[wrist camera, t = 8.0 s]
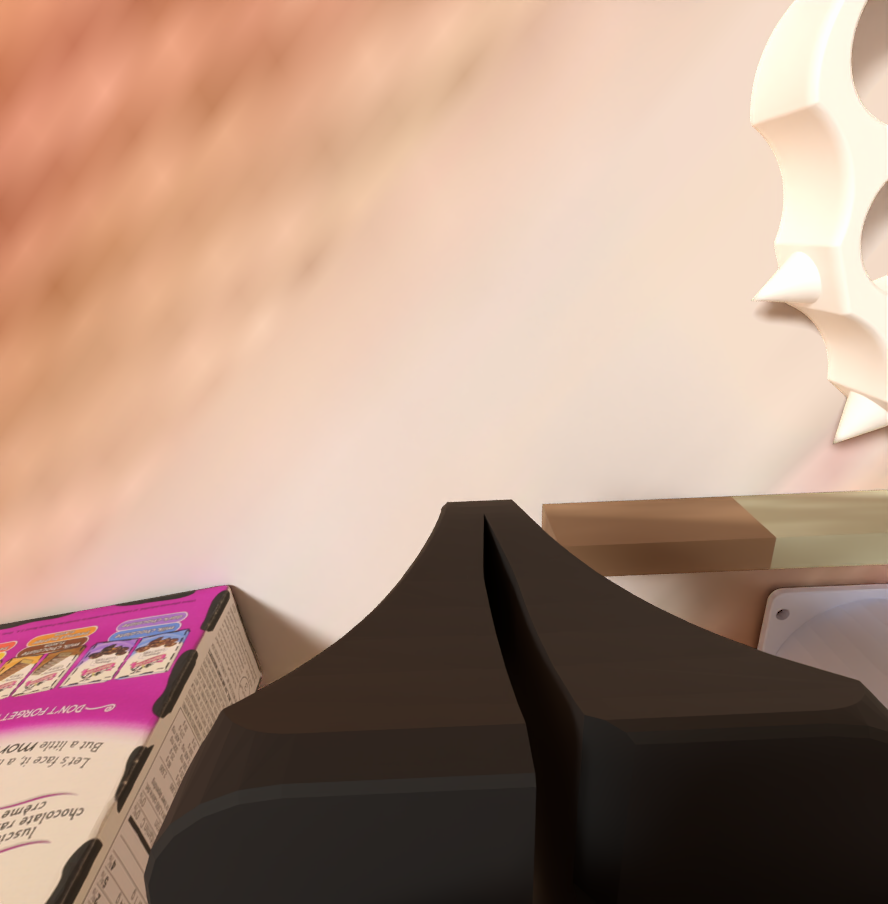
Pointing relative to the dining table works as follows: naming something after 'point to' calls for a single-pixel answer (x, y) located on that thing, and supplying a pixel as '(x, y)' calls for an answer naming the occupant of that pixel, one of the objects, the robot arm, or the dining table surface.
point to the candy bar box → (107, 736)
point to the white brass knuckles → (827, 198)
